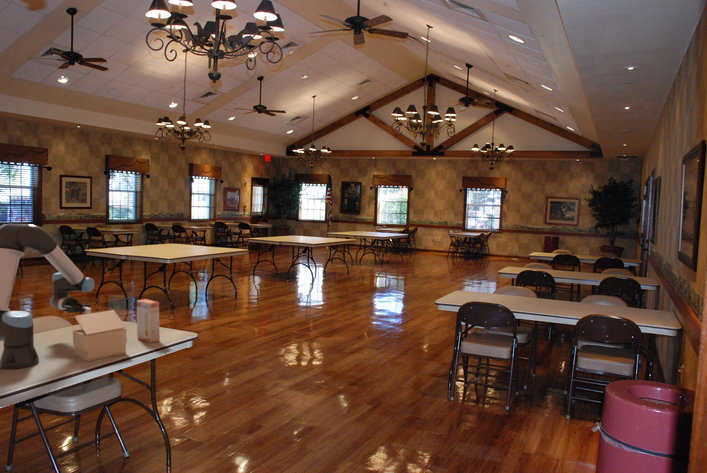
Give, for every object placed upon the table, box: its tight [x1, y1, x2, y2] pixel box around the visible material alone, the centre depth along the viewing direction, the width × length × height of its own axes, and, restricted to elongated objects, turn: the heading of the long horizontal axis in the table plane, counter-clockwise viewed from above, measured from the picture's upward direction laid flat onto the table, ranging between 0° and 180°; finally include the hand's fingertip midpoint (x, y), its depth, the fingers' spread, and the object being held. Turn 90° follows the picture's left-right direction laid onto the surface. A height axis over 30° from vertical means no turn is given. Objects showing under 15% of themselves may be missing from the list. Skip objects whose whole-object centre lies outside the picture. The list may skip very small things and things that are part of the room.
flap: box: [74, 309, 127, 335], centre depth 261 cm, size 14×19×1 cm
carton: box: [72, 327, 128, 363], centre depth 262 cm, size 15×19×12 cm
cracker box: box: [136, 298, 161, 344], centre depth 289 cm, size 14×6×21 cm, turn 47°
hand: (89, 311), depth 269 cm, fingers closed
